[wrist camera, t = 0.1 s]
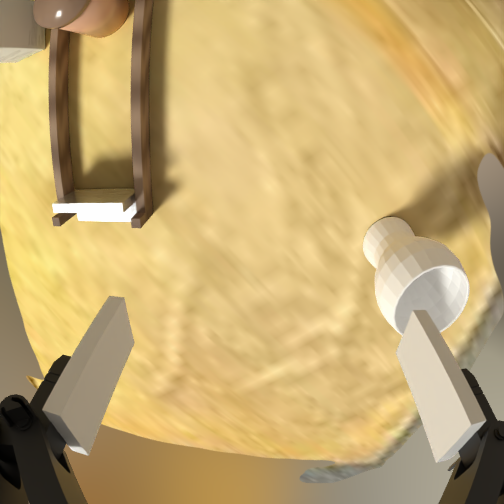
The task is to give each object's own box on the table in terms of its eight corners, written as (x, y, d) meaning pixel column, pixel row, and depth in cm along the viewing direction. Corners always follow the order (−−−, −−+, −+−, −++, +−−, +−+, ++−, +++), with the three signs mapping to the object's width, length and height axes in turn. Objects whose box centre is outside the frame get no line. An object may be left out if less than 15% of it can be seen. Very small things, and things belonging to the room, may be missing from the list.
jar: (84, -3, 27) (38, -21, 17) (133, -15, 27) (94, -43, 17) (79, 44, 30) (29, 36, 20) (128, 33, 30) (86, 17, 20)
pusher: (75, 189, 40) (52, 203, 34) (140, 187, 39) (122, 203, 34) (79, 219, 42) (58, 237, 36) (143, 220, 42) (126, 239, 36)
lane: (67, -5, 26) (48, -13, 22) (156, -27, 26) (143, -40, 22) (71, 212, 41) (53, 226, 37) (153, 213, 41) (140, 228, 37)
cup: (349, 276, 45) (378, 348, 31) (356, 205, 40) (398, 261, 27) (413, 273, 44) (457, 337, 31) (425, 207, 39) (484, 257, 26)
